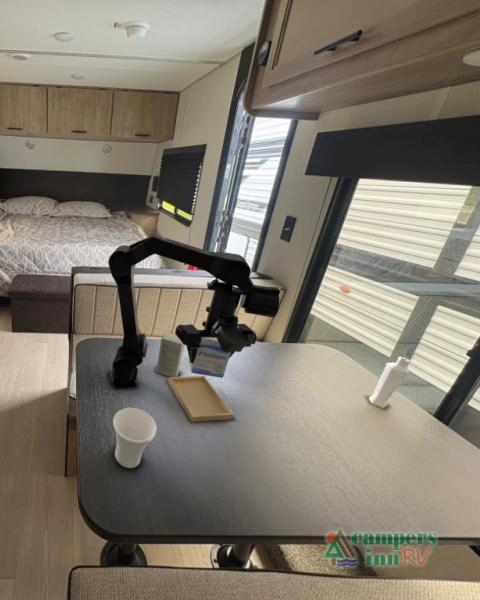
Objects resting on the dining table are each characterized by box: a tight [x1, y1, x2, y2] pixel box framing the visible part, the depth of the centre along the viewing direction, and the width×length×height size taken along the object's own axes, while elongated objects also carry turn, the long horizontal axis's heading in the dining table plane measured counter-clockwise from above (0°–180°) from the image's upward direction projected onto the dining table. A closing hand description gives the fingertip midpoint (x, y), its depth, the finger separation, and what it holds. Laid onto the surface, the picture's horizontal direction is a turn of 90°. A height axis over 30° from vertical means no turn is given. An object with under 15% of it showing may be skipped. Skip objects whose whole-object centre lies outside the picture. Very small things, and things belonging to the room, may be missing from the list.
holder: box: [167, 375, 235, 423], centre depth 83 cm, size 11×15×2 cm
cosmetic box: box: [155, 332, 186, 378], centre depth 91 cm, size 6×4×12 cm
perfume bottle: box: [368, 356, 412, 409], centre depth 82 cm, size 5×4×15 cm
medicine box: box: [188, 338, 231, 379], centre depth 77 cm, size 8×4×9 cm, turn 79°
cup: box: [112, 407, 158, 469], centre depth 63 cm, size 9×9×10 cm
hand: (207, 362), depth 78 cm, fingers closed on medicine box, 9 cm apart
